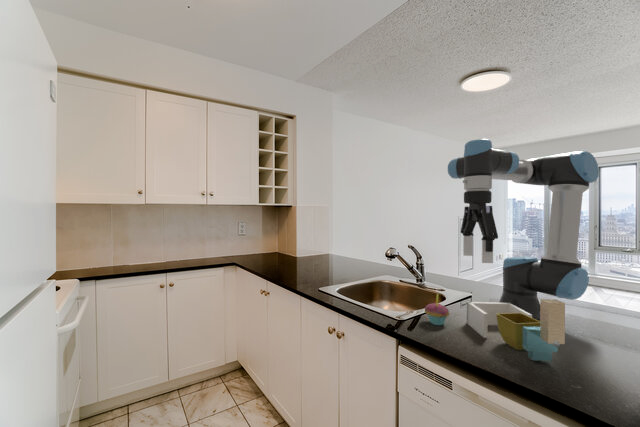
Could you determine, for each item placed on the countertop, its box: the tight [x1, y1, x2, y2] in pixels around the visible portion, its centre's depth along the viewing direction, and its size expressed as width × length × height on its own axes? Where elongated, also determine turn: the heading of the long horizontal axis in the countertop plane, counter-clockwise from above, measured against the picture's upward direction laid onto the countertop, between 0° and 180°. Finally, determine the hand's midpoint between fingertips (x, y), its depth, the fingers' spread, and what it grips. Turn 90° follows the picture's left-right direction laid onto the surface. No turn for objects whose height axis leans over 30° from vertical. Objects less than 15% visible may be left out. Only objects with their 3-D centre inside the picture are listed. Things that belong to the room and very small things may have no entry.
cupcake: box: [424, 292, 450, 326], centre depth 108 cm, size 9×8×12 cm
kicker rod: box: [523, 298, 566, 362], centre depth 77 cm, size 8×7×18 cm
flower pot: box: [496, 313, 540, 351], centre depth 89 cm, size 9×9×9 cm
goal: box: [466, 301, 532, 339], centre depth 101 cm, size 15×12×8 cm
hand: (476, 259), depth 89 cm, fingers open, 13 cm apart
